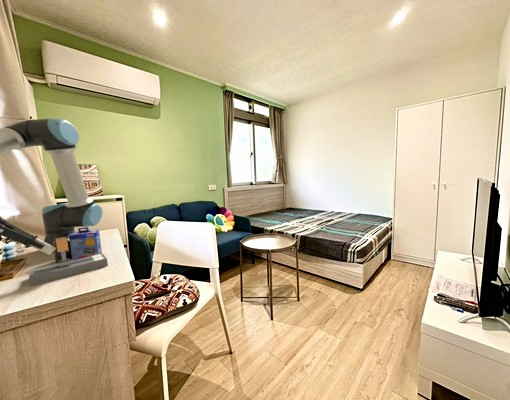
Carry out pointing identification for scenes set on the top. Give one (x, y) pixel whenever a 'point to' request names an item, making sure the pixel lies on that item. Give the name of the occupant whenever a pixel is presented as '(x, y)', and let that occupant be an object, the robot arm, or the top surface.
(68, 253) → the supplement bottle
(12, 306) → the top surface
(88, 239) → the ink cartridge box
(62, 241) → the fader
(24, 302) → the top surface
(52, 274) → the fader console
